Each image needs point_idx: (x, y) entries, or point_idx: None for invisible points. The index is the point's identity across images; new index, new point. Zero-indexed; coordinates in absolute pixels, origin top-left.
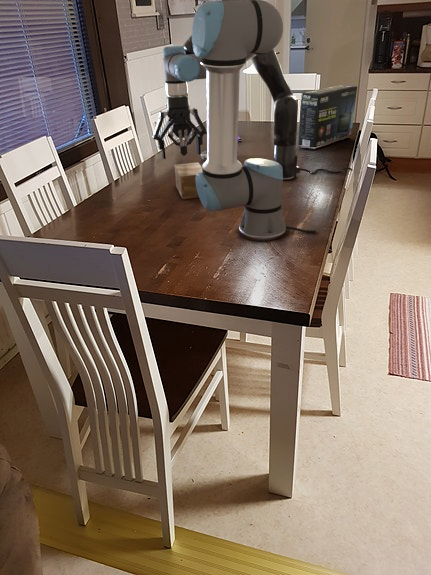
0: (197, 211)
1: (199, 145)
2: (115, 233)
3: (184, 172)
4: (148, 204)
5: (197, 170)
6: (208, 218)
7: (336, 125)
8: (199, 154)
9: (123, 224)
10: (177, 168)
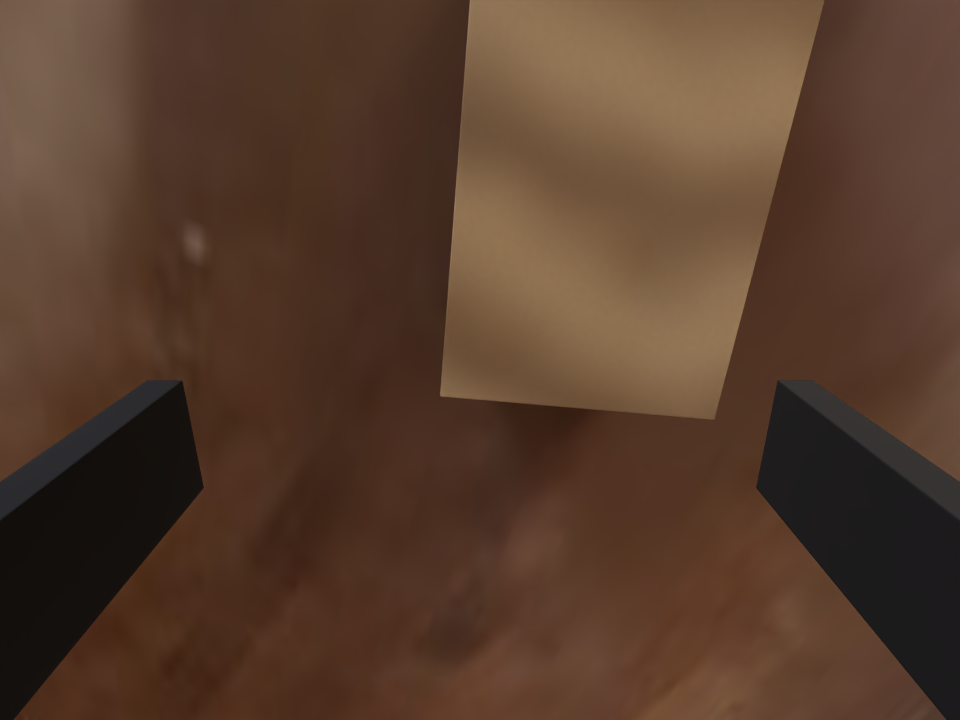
0: (486, 555)
1: (869, 594)
2: None
3: (514, 283)
4: (187, 323)
5: (679, 271)
6: (512, 655)
7: None
8: (766, 491)
9: None
10: (479, 64)
